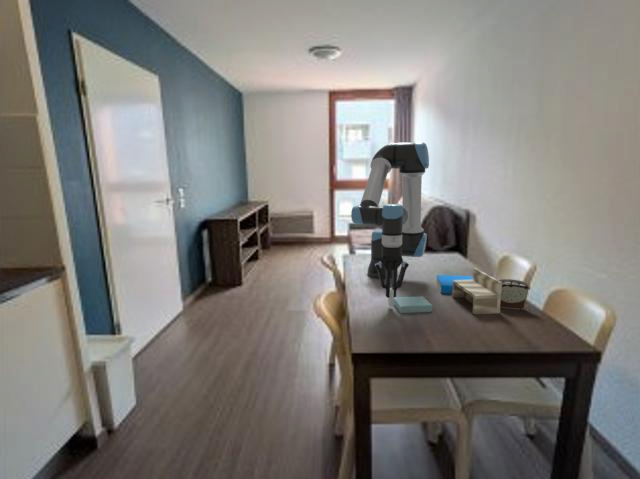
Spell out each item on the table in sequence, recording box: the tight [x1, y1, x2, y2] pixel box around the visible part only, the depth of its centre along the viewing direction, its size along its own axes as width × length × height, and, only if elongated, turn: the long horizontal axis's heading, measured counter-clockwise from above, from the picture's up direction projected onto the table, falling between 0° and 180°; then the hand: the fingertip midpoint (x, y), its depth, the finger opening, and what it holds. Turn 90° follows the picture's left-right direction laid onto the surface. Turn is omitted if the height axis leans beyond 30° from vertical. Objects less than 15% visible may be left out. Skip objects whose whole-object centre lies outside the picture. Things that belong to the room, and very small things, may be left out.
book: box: [436, 274, 473, 295], centre depth 171 cm, size 17×4×25 cm
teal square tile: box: [393, 295, 433, 314], centre depth 149 cm, size 10×12×3 cm
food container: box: [498, 278, 531, 311], centre depth 149 cm, size 12×6×10 cm, turn 71°
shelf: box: [451, 267, 502, 315], centre depth 150 cm, size 20×10×12 cm, turn 5°
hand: (390, 305), depth 148 cm, fingers closed
